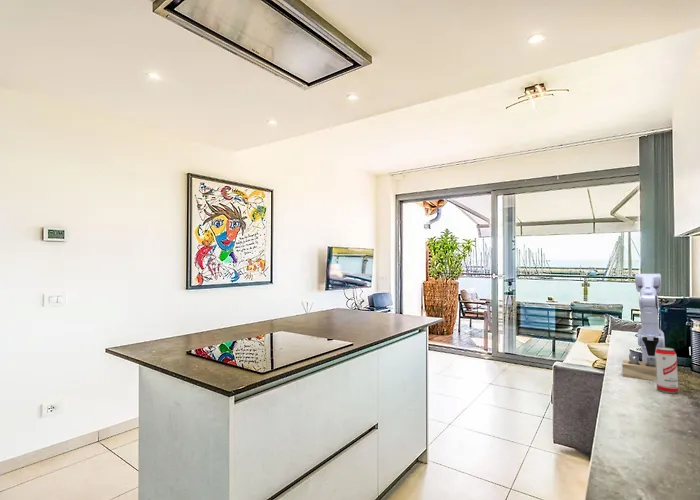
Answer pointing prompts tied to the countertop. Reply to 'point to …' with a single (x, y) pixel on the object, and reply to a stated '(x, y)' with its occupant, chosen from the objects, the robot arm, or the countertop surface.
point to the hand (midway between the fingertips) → (651, 355)
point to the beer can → (666, 370)
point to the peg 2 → (651, 362)
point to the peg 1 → (634, 360)
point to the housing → (638, 370)
